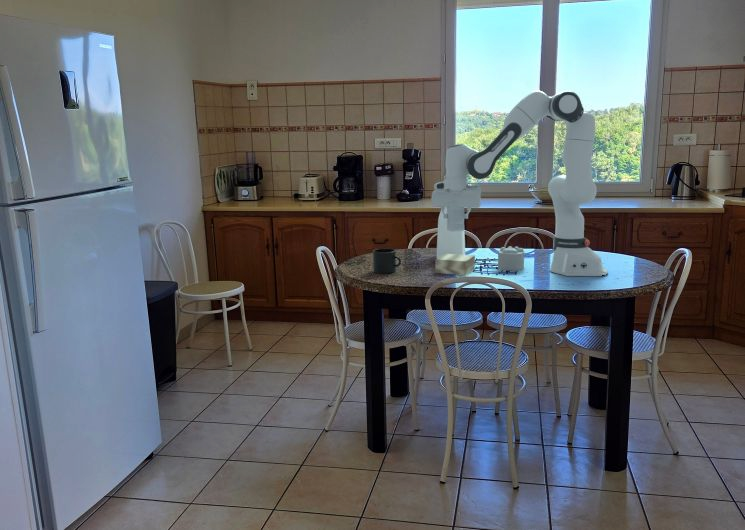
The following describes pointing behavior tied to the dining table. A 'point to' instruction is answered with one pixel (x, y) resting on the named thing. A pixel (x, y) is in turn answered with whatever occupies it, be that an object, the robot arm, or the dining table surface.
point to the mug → (385, 261)
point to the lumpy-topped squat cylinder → (511, 258)
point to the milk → (449, 239)
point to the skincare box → (455, 217)
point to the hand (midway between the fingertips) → (455, 218)
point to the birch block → (455, 264)
